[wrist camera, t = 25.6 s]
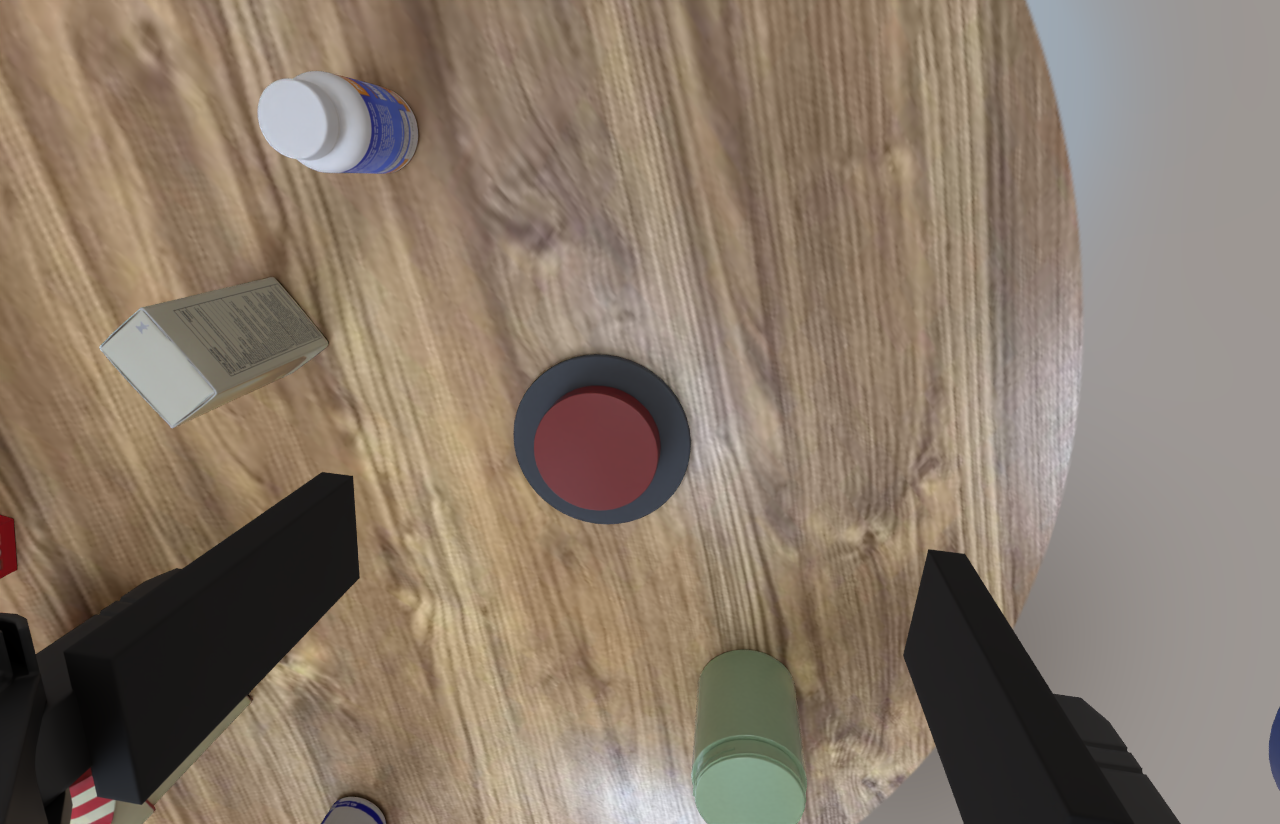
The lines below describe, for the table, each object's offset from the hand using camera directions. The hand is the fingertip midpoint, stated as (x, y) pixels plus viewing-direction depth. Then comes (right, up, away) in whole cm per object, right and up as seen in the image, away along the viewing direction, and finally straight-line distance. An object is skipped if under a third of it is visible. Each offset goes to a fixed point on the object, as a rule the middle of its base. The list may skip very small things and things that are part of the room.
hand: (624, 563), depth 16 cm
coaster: (-2, +1, +35) cm, 35 cm away
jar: (+9, -19, +40) cm, 45 cm away
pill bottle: (-17, +22, +30) cm, 41 cm away
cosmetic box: (-26, +10, +35) cm, 45 cm away
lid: (-3, +1, +33) cm, 33 cm away
